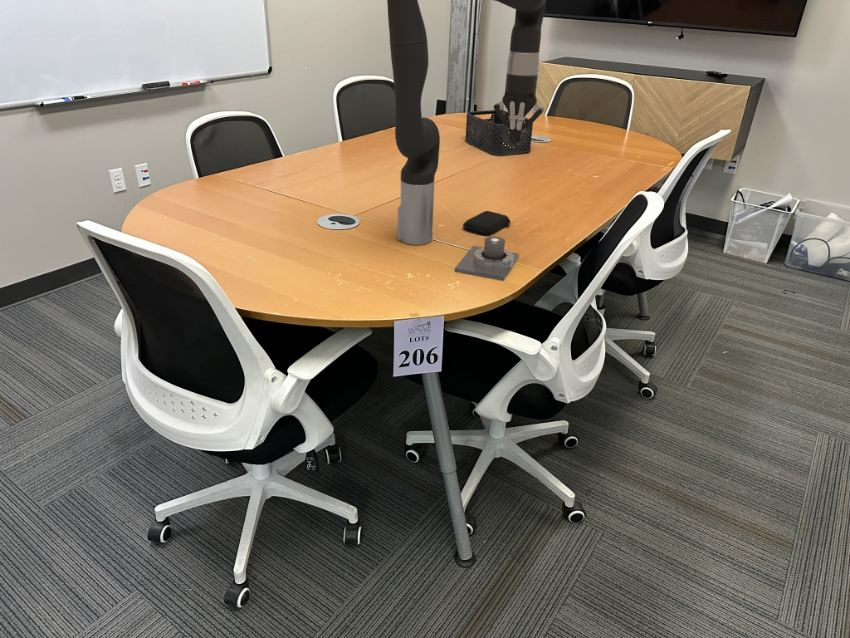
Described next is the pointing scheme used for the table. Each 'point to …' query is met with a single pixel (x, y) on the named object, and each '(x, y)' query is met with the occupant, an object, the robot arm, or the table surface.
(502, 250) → the dark gray cylinder
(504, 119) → the robot arm
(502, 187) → the table surface
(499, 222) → the carrying case or bag
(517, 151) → the storage bin
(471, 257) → the lens mount
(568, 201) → the table surface
